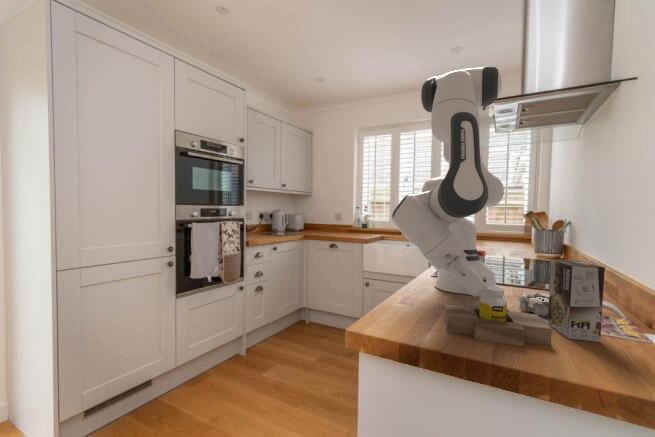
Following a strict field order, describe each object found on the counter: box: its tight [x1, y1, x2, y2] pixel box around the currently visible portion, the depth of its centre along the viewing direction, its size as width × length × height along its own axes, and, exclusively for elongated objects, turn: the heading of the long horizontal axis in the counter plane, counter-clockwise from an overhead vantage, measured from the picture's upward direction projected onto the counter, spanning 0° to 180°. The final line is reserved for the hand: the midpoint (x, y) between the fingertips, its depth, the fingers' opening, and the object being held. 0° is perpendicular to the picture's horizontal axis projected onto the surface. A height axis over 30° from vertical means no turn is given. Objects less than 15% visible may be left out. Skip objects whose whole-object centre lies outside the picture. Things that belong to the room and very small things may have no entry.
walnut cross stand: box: [443, 303, 553, 347], centre depth 70 cm, size 14×20×4 cm
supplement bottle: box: [479, 286, 508, 322], centre depth 70 cm, size 5×5×10 cm
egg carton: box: [517, 292, 549, 317], centre depth 85 cm, size 11×8×4 cm
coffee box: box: [547, 259, 606, 343], centre depth 69 cm, size 9×6×16 cm
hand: (489, 298), depth 70 cm, fingers open, 8 cm apart
